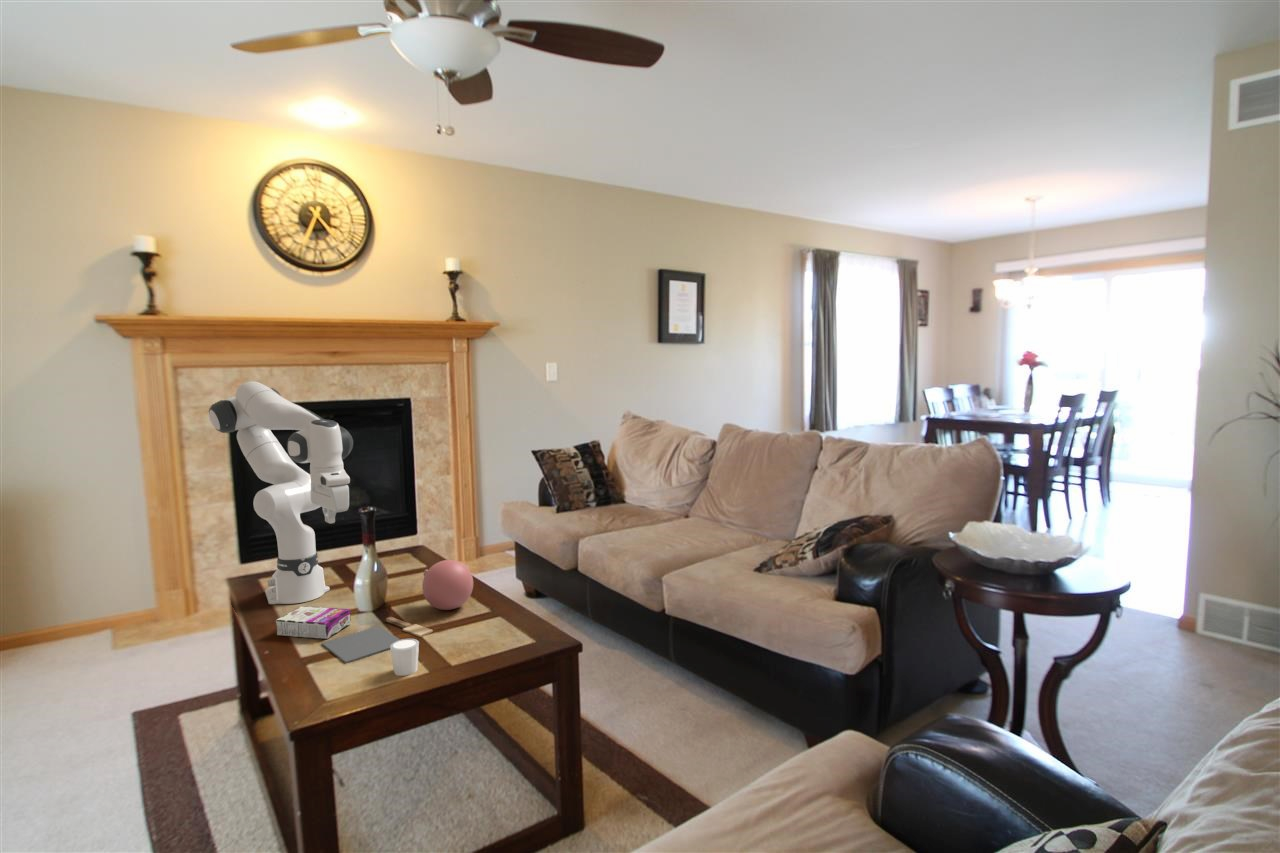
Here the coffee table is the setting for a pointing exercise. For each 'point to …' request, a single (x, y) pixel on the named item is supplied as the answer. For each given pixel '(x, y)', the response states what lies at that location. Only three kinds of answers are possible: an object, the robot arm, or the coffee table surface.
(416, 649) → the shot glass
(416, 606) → the coffee table surface
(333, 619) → the candy bar box
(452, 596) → the rose rubber ball
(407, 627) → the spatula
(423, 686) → the coffee table surface
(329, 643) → the mat
